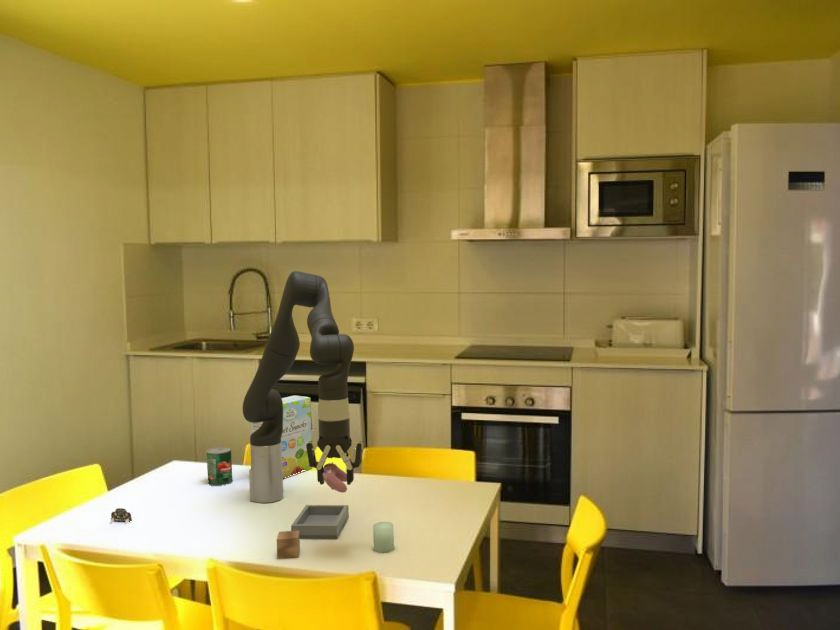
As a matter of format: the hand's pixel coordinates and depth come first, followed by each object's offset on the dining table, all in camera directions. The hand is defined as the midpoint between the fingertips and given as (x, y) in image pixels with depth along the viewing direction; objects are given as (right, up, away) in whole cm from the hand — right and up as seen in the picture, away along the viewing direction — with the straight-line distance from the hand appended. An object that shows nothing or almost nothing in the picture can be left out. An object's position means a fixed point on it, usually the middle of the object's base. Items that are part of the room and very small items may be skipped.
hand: (335, 483), depth 177 cm
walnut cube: (-12, -18, 0) cm, 21 cm away
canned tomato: (-45, -14, +61) cm, 78 cm away
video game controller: (0, -1, 0) cm, 1 cm away
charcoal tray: (-6, -16, +18) cm, 25 cm away
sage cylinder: (+12, -17, +2) cm, 21 cm away
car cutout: (-59, -18, +25) cm, 67 cm away
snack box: (-26, -13, +68) cm, 74 cm away
